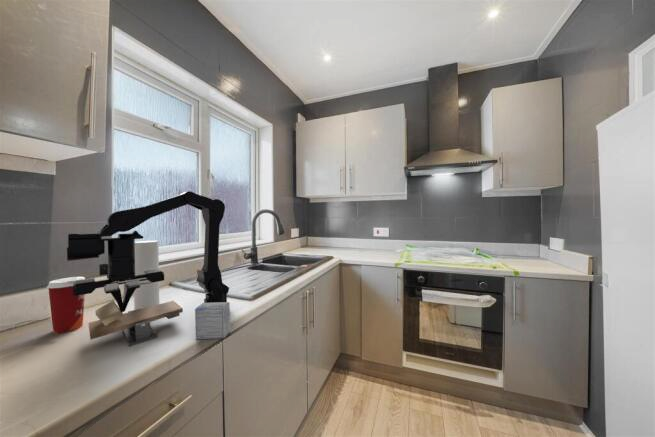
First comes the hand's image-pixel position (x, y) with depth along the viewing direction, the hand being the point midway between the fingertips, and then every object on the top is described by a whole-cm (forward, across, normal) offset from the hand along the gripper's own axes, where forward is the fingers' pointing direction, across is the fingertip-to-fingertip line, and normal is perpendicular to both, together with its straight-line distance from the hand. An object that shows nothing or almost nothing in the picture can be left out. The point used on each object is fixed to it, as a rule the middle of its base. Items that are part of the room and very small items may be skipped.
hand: (122, 311), depth 66 cm
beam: (+5, -3, 0) cm, 6 cm away
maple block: (+1, +2, 0) cm, 2 cm away
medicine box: (+8, -17, +18) cm, 26 cm away
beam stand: (+7, -3, 0) cm, 8 cm away
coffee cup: (+8, +11, -20) cm, 24 cm away
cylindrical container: (+8, -8, -18) cm, 21 cm away
